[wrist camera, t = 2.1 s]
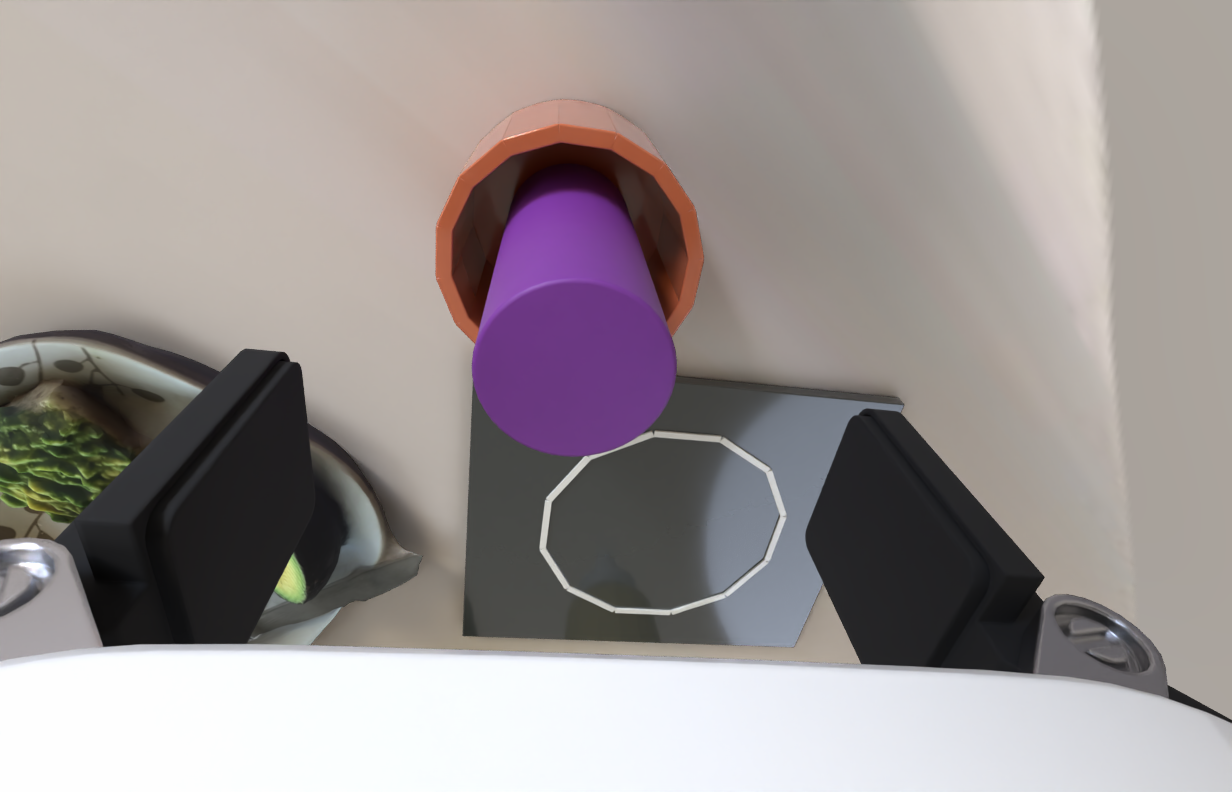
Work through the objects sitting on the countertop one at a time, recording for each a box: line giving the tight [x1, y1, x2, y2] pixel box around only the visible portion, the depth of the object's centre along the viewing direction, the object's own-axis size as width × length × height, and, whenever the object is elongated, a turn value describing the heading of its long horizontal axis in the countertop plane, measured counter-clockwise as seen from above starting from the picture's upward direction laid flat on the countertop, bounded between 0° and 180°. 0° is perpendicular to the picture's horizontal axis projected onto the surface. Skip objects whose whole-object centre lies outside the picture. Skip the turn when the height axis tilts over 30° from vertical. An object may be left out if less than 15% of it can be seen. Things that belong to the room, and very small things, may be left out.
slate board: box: [463, 376, 904, 647], centre depth 30 cm, size 16×18×1 cm
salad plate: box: [0, 330, 423, 645], centre depth 26 cm, size 19×18×5 cm
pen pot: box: [436, 99, 704, 343], centre depth 20 cm, size 7×7×6 cm
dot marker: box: [472, 163, 677, 457], centre depth 17 cm, size 4×4×11 cm
